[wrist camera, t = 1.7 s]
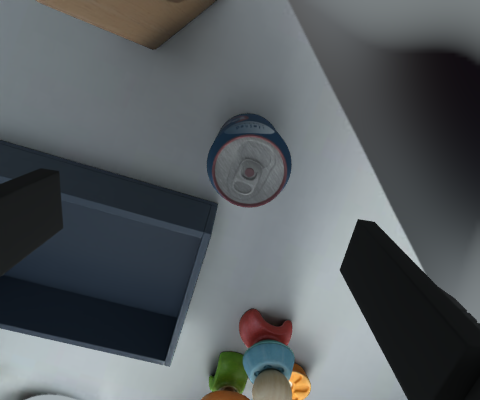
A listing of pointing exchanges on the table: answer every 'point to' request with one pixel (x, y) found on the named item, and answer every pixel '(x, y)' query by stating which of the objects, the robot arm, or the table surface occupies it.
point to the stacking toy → (260, 365)
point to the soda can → (248, 161)
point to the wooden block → (134, 16)
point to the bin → (107, 262)
